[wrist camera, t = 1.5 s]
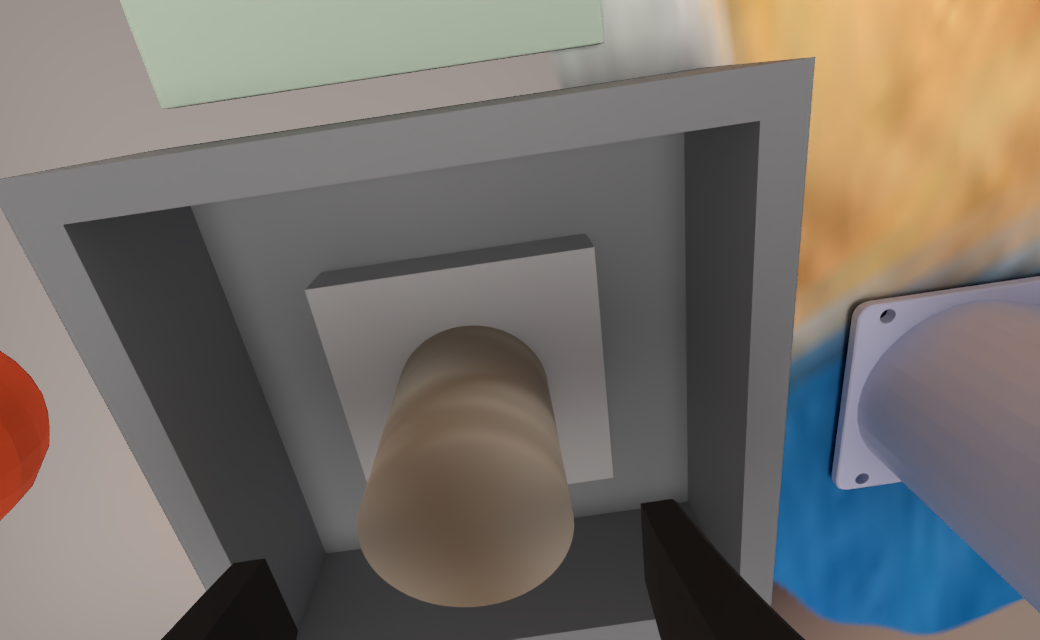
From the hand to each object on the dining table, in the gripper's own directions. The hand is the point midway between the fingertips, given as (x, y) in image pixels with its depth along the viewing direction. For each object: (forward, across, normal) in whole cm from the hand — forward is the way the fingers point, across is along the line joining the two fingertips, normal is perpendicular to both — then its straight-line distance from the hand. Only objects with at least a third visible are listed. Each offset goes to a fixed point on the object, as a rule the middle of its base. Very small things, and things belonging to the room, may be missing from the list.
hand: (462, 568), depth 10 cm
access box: (+9, 0, 0) cm, 9 cm away
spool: (+6, 0, 0) cm, 6 cm away
